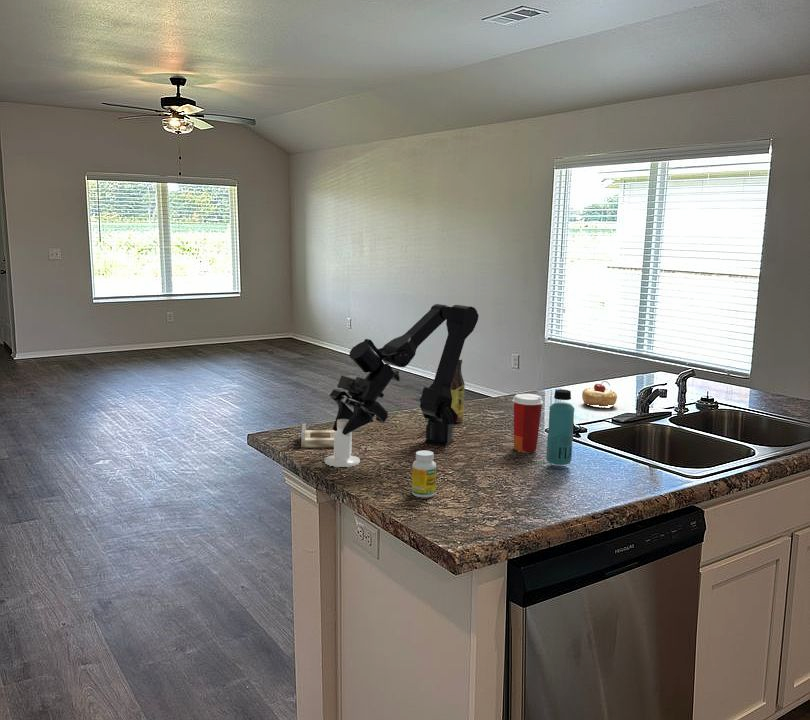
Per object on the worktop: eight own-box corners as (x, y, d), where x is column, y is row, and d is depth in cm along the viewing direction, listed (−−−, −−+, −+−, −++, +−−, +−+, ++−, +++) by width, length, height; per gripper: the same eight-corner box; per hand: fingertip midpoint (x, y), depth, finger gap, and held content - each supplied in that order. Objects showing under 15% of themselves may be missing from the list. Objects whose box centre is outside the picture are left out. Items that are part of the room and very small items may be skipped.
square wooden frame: (337, 437, 208) (338, 423, 207) (338, 447, 198) (338, 432, 197) (302, 437, 207) (302, 423, 206) (301, 447, 197) (301, 432, 196)
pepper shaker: (336, 454, 187) (337, 418, 186) (351, 455, 187) (352, 418, 185) (333, 458, 183) (333, 421, 182) (349, 459, 183) (349, 422, 181)
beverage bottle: (556, 472, 182) (561, 393, 179) (539, 464, 188) (544, 388, 185) (576, 469, 185) (582, 391, 182) (559, 461, 191) (564, 386, 188)
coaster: (366, 460, 187) (366, 458, 187) (348, 469, 179) (348, 467, 179) (336, 454, 191) (336, 452, 191) (317, 463, 183) (317, 461, 183)
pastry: (575, 402, 262) (577, 378, 260) (605, 401, 264) (607, 377, 263) (591, 410, 250) (593, 384, 249) (622, 409, 253) (624, 384, 251)
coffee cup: (543, 448, 203) (546, 395, 200) (535, 455, 196) (539, 401, 193) (514, 443, 206) (517, 391, 204) (505, 451, 199) (508, 397, 196)
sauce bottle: (461, 424, 226) (464, 361, 222) (441, 422, 227) (444, 359, 224) (464, 419, 232) (467, 357, 229) (444, 417, 233) (447, 356, 230)
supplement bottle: (419, 488, 168) (421, 447, 166) (439, 493, 165) (441, 452, 164) (406, 494, 164) (408, 453, 162) (427, 500, 161) (429, 457, 159)
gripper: (335, 358, 191) (299, 405, 186) (379, 370, 176) (341, 421, 171) (360, 384, 197) (325, 430, 192) (403, 397, 183) (367, 447, 178)
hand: (338, 431), depth 183 cm, fingers closed on pepper shaker, 4 cm apart
